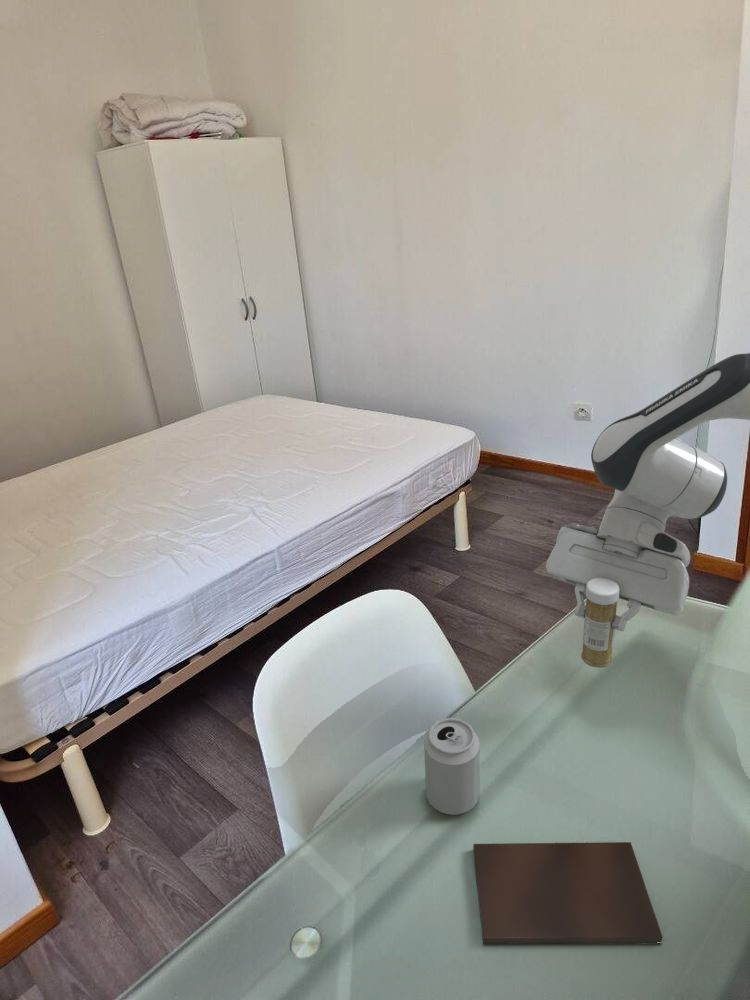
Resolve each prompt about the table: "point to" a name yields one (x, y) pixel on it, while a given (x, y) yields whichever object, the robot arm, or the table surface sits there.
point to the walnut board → (563, 894)
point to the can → (452, 766)
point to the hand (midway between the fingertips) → (598, 623)
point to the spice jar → (599, 622)
